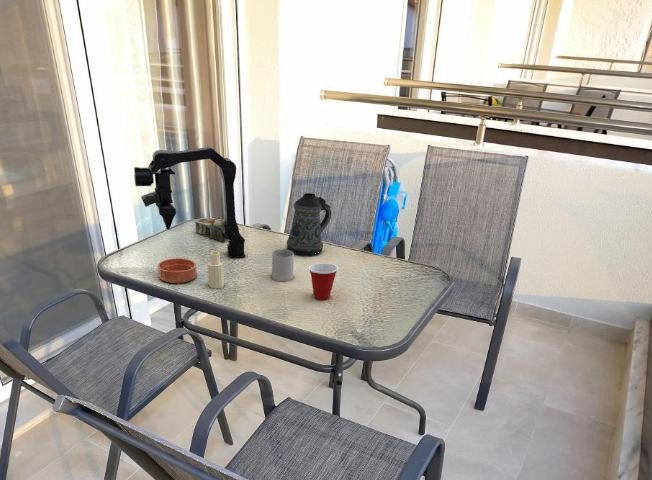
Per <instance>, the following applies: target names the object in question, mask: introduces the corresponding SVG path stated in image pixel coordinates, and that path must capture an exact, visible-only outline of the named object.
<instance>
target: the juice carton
mask: <svg viewBox="0 0 652 480" xmlns="http://www.w3.org/2000/svg"><path fill="white" fill-rule="evenodd" d="M194 226H195V227H194V229H195V233H196V234H199V235H201V236H205V237H208V238H210V239H214V240H216V241H219V242H222V243H224V242H225V237H226V236H225V234H224V233H223V231H222V230H221V229H222V223H221V220H220V221H219V220H216V219H213V218H210V217H207V218H202V219H199V220H198V221H195V222H194Z"/></svg>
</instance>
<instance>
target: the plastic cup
mask: <svg viewBox="0 0 652 480" xmlns="http://www.w3.org/2000/svg"><path fill="white" fill-rule="evenodd" d="M308 270H309V273H310V277H311V285H312V292H313V297H314V299H316V300H317V301H327V300H329V299H330V297H331V293H332V290H333V286H334V283H335V277H336V274H337V272H338V270H339V267H338V266H337V265H336V264H333V263H329V262H328V263H326V262H321V263H320V262H317V263H313V264H311V265H309V266H308Z"/></svg>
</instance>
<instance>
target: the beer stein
mask: <svg viewBox="0 0 652 480" xmlns="http://www.w3.org/2000/svg"><path fill="white" fill-rule="evenodd" d="M293 209H294V213H293V218H292V223H291V228H290V232H289V235H288V238H287V240H286V247H287V248H286V250H289V251H292V252H293V253H294V256H299V257H315V256H316V257H317V256H318V255H320V254H321V253H322V250H323V247H324V243H323V240H322V233H323V231H325V229H326V228H327V226H328V225H329V223H330V221H331V219H332V210H331V206H330V205H329V204H327V203H326V199H324V198H323V197H321V196H316V194H315V193H309V192H308V193H303V196H301V197H300V198H299V199H297V200H296V201H295V202H293ZM321 211H324V212H325V213H324V217H323V219H322V221H321V216H320V213H321ZM318 252H319V253H318ZM315 253H316V254H315Z"/></svg>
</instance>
